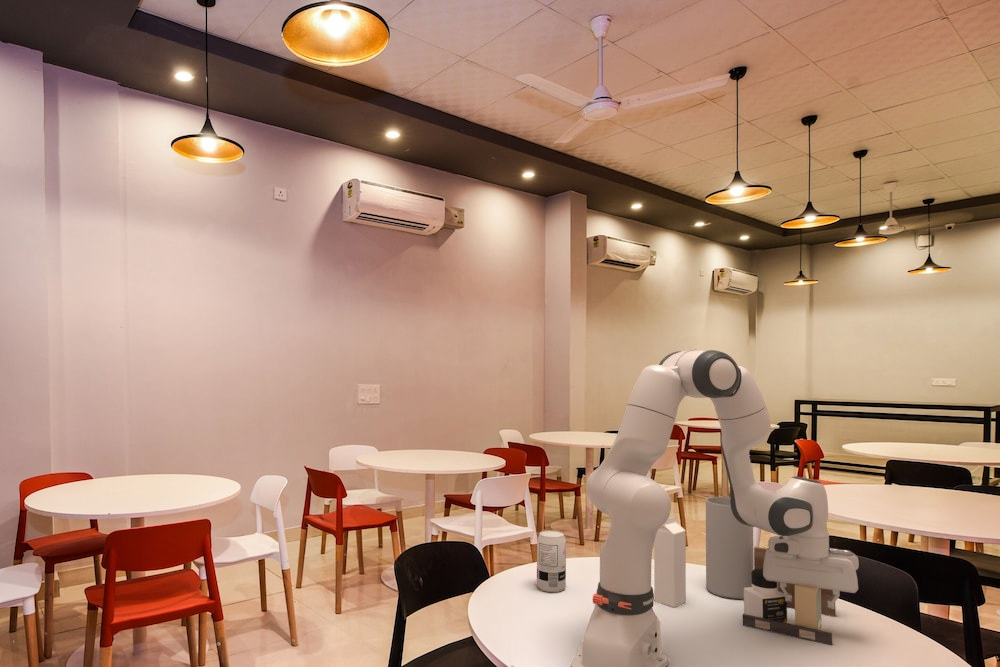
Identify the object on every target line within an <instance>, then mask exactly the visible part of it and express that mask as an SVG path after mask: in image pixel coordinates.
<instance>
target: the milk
mask: <svg viewBox="0 0 1000 667" xmlns="http://www.w3.org/2000/svg"><path fill="white" fill-rule="evenodd" d="M686 533H687V532H686V529H684V527H682V526H681V525H680V524H679V523H678V522H677V517H676V516H672V517H668V519H667V521H666V522H665V523H664V524H663V525H662V526H661V527H660V528H659V529H658V532H657V534H656V537H655V541H654V545H653V548H654V552H653V553H654V563H653V564H654V567H653V568H654V569H653V570H654V572H653V573H654V585H653V586H654V588H653V594H654V600H653V602H656V603H659V604H662V605H665V606H668V607H671V608H676V607H678V606H681V605H682V604H685V603H686V600H687V595H686V594H687V592H686V590H687V589H686V588H687V587H686V586H687V585H686V584H687V582H686V579H687V577H686V576H687V575H686V573H687V572H686V571H687V570H686V569H687V568H686V567H687V564H686V563H687V562H686V560H687V559H686V558H687V557H686V556H687V554H686V550H687V548H686V546H687V545H686V537H687V536H686Z"/></svg>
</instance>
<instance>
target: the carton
mask: <svg viewBox="0 0 1000 667" xmlns="http://www.w3.org/2000/svg"><path fill="white" fill-rule="evenodd" d="M822 620H823V619H822V614H821V588H817V587H811V586H804V585H797V584H796V585H795V609H794V625H798V626H803V627H808V628H812V629H817V630H822Z"/></svg>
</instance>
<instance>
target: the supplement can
mask: <svg viewBox="0 0 1000 667" xmlns="http://www.w3.org/2000/svg"><path fill="white" fill-rule="evenodd" d="M536 541H537V542H536V586H537V587H538V589H539V590H540V591H542V592H546V593H559V592H562V591H564V589H565V588H566V587H567V585H566V584H567V583H566V582H567V580H566V579H567V577H566V576H567V574H566V573H567V538H566V536H565V534H564V532H562V531H559V530H550V529H549V530H542V531H540V532H539V534H538V536H537V539H536Z"/></svg>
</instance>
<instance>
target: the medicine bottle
mask: <svg viewBox="0 0 1000 667" xmlns="http://www.w3.org/2000/svg"><path fill="white" fill-rule="evenodd" d="M751 580H752V587H747V588H744V599H743V614H747V615H752V616H756V617H761V618H766V619H770V620H775V621H780V622H784V623H788V607H787V602H786V601H785V594H783V593H781V592H779V591H777V590H778V582H775V581H768V580H766V579H765V578H764V576H763V569H755V570H753V571H752V572H751Z"/></svg>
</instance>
